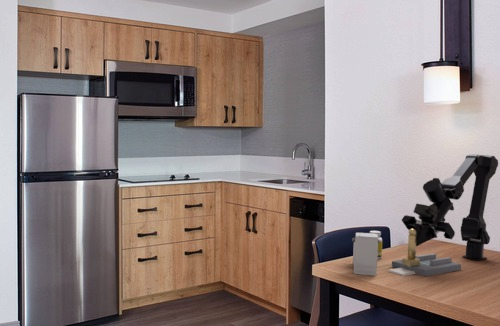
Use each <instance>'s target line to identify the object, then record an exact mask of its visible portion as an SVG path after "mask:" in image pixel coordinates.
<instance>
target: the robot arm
mask: <svg viewBox="0 0 500 326" xmlns="http://www.w3.org/2000/svg"><path fill="white" fill-rule="evenodd" d="M498 167H499V160H498V158H496V156H495V155H487V154H486V155H483V154H473V153H470V154H466V155H465V159H464V160H463V162H462V163H461V164H460V165H459V167H458V168H457V170H456V171H455V172H454V174H452V176H451V177H449V178H445V179H444V180H443V181H442V182H441V179H440V178H438V177H433V178H432V179H431V180H429V181H426V182H425V183H424V184H423V186H422V190H423V192H424V193H425V195H426V197H427V199H428V200H429V202H431V203H432V204H430V205H426V204H421V203H416V204H415V206H414V210H413V213H414V214H416V215H418V219H417V218H416V217H415V216H413V215H408V214H406V215H404V216H403V217H402V218H401V221H402V224H403V225H404V226H405V228H406V229H407V230H408V231H409V230H410V229H412V228H413V229H415V230H416V231H417V234H416V235H417V237H416V247H419V246H421V245H422V244H425V243H426V242H428V241H430V240H432V239H437V238H438V236H437V235H438V234H439V233H440V232H441V233H443V237H444V238H445V239H448V240H453V239H454V237H455V235H456V231H455V230H454V228H453V227H452V225H451V224H450V222H446V218H445V217H446V215H447V214H448V212H449V211H453V212H454V210H455V207H454V203H453V202H452V201H451V200H454V201H455V200H460V199H461V197H462V196H463V194H464V191H465V188H464V187H465V184H466V183H467V181H468V180H469V179H470V178H471V176H472V175H473V174H474V176H475V179H474V183H473V190H472V196H471V201H470V202H471V203H470V206H469V213H468V215H467V216H466V217H465V216H464V217H462V220H461V225H460V235H461V240H462V241H463V242H466V246H465V247H466V248H465V255H462V256H461V257H462V258H465V259H470V260H474V261H481V260H487V258H488V257H486V256H484V249H485V248H484V247H485V245H489V244H490V240H491V237H490V235H489V233H488V231H487V223H486V221H485V218H484V213H485V207H486V202H487V196H488V191H489V184H490V180H491V178H493V176H494V175H495V174H496V171H497V169H498Z"/></svg>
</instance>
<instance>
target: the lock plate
mask: <svg viewBox="0 0 500 326" xmlns="http://www.w3.org/2000/svg"><path fill="white" fill-rule="evenodd" d="M416 258H418V259H420V265H416V266H407V265H403V264H402V262H403V259H397V260H393V261H391V267H392V268H393V269H396V268H404V269H407V270H411V271H414V272H415V274H414V275H419V276H422V277H429V276H433V275H434V276H435V275H441V274H447V273H451V272H457V271H461V270H462V263H459V262H455V261H453V259H452V257H450V256H448V257H447V256H446V257H442V258H438V257H437V254H436V253H428V254H422V255H421V254H420V255H416Z"/></svg>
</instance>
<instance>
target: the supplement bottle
mask: <svg viewBox="0 0 500 326" xmlns="http://www.w3.org/2000/svg"><path fill="white" fill-rule="evenodd" d="M369 233H373V234H377V235H378V240H380V243H379V244H378V258H377V260H380V259H382V255H383V238H382V237H381V235H382V231H379V230H370V231H369Z"/></svg>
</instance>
